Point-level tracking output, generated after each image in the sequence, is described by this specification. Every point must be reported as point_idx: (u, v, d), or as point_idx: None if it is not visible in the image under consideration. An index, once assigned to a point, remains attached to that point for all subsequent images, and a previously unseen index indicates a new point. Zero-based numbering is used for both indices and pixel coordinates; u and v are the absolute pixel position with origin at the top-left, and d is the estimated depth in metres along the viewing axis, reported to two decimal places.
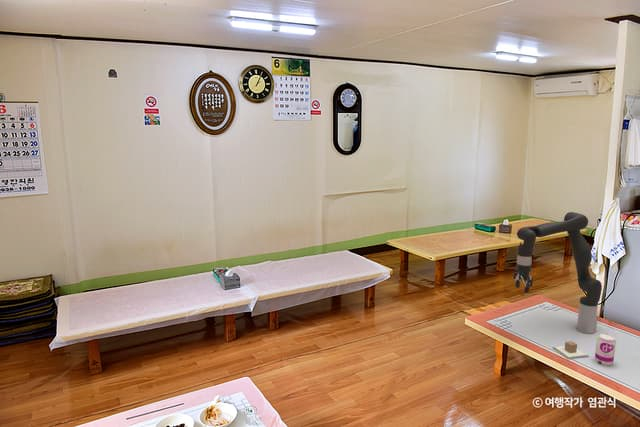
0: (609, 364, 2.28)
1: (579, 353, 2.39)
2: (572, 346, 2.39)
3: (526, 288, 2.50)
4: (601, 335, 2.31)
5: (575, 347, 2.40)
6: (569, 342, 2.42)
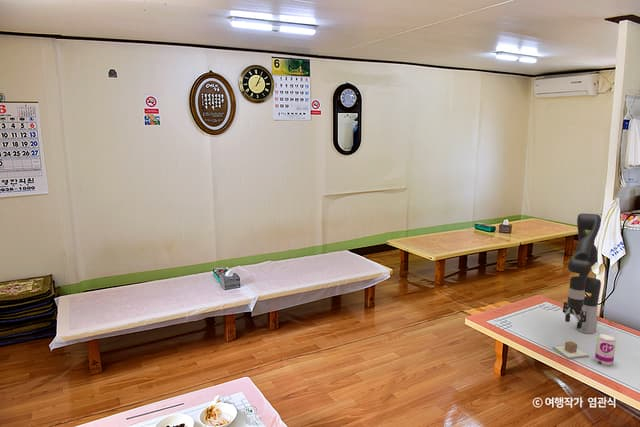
0: (609, 364, 2.28)
1: (579, 353, 2.39)
2: (572, 346, 2.39)
3: (579, 324, 2.33)
4: (601, 335, 2.31)
5: (575, 347, 2.40)
6: (569, 342, 2.42)
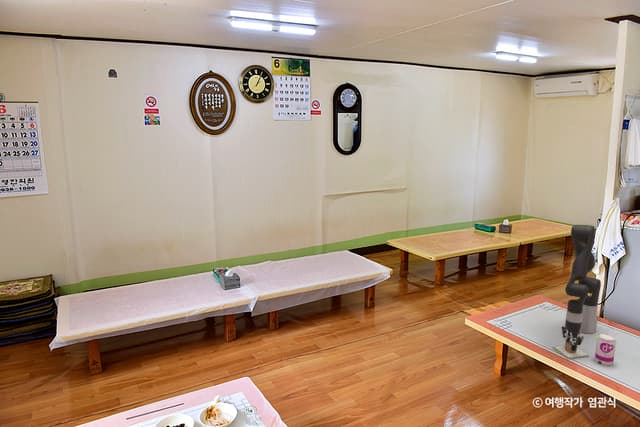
0: (609, 364, 2.28)
1: (579, 353, 2.39)
2: None
3: (573, 346, 2.38)
4: (601, 335, 2.31)
5: None
6: (569, 342, 2.42)
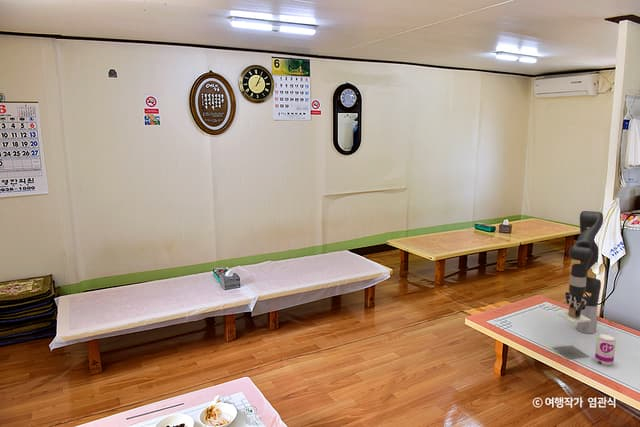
0: (609, 364, 2.28)
1: (583, 318, 2.35)
2: None
3: (577, 311, 2.34)
4: (601, 335, 2.31)
5: None
6: (573, 307, 2.38)
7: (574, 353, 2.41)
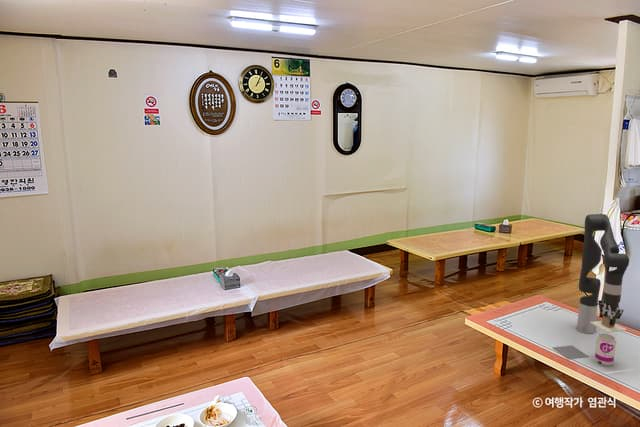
0: (609, 364, 2.28)
1: (618, 328, 2.25)
2: None
3: (612, 320, 2.24)
4: (601, 335, 2.31)
5: None
6: (607, 316, 2.28)
7: (574, 353, 2.41)
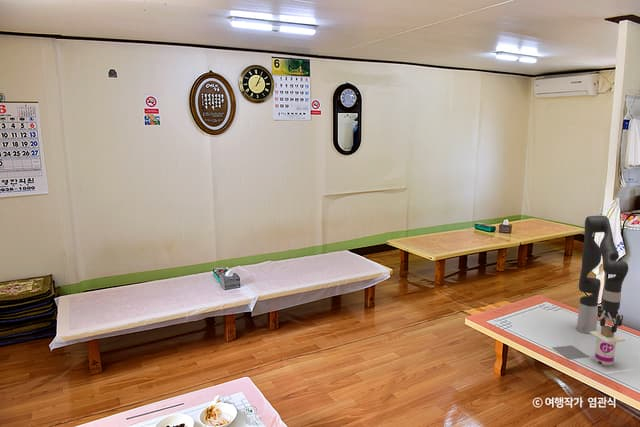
0: (609, 364, 2.28)
1: (617, 338, 2.26)
2: (610, 330, 2.26)
3: (613, 327, 2.24)
4: None
5: None
6: (606, 326, 2.29)
7: (574, 353, 2.41)
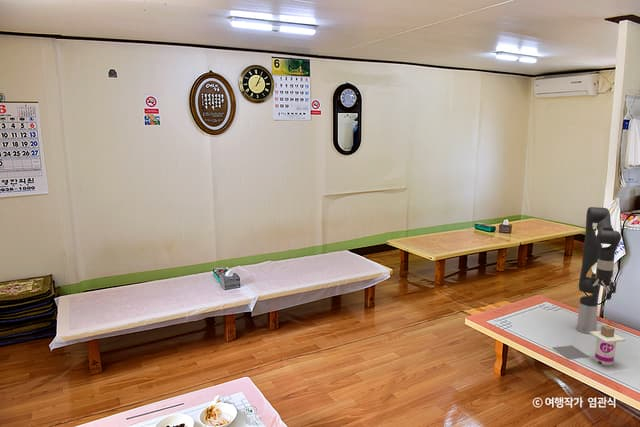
0: (609, 364, 2.28)
1: (617, 338, 2.26)
2: (610, 330, 2.26)
3: (608, 295, 2.32)
4: None
5: (613, 331, 2.27)
6: (606, 326, 2.29)
7: (574, 353, 2.41)
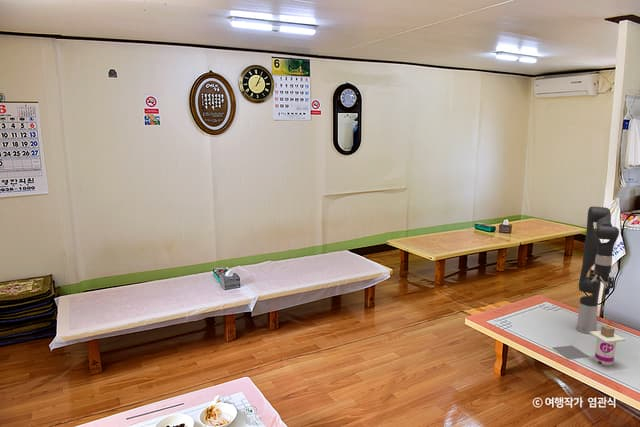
0: (609, 364, 2.28)
1: (617, 338, 2.26)
2: (610, 330, 2.26)
3: (606, 290, 2.34)
4: None
5: (613, 331, 2.27)
6: (606, 326, 2.29)
7: (574, 353, 2.41)
